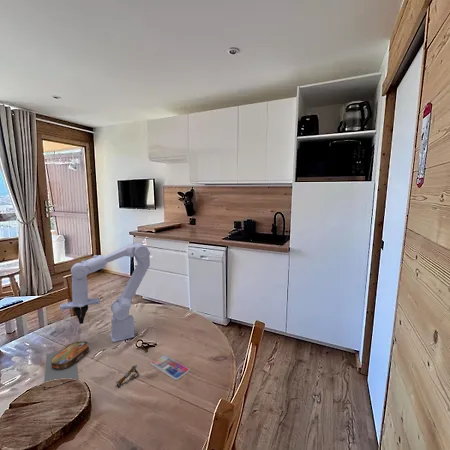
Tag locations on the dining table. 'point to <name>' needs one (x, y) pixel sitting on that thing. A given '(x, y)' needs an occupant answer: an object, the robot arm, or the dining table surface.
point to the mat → (59, 370)
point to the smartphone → (170, 367)
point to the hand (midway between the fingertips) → (81, 322)
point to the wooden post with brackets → (128, 375)
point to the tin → (70, 355)
